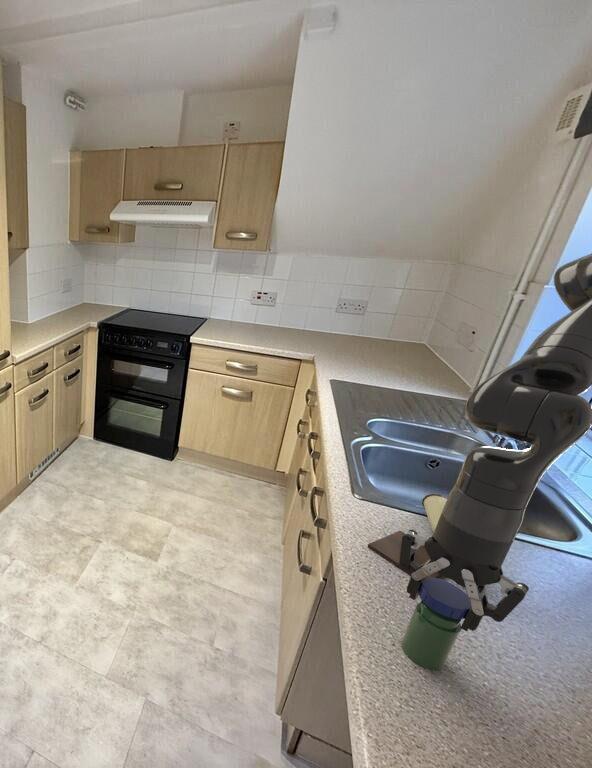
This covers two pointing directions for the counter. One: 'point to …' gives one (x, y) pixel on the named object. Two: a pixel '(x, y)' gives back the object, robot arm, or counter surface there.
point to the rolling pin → (433, 508)
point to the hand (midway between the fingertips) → (439, 611)
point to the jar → (430, 637)
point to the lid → (445, 598)
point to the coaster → (398, 551)
